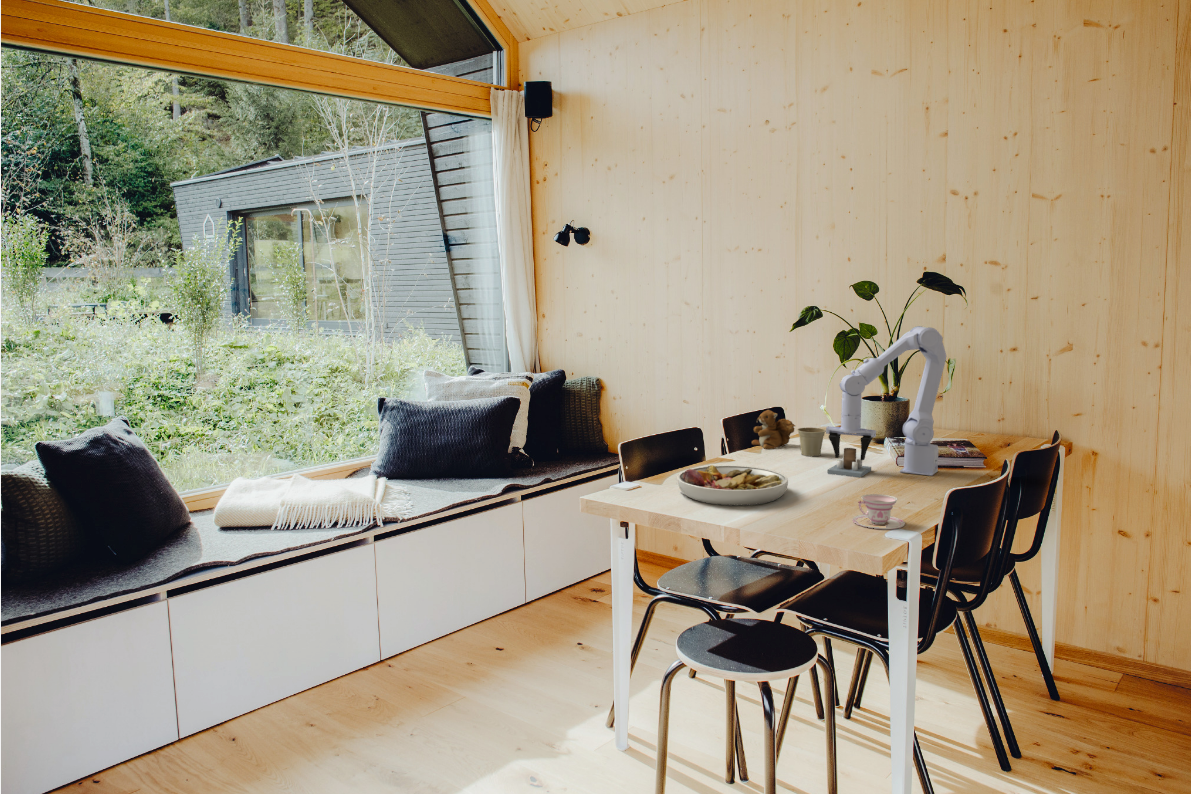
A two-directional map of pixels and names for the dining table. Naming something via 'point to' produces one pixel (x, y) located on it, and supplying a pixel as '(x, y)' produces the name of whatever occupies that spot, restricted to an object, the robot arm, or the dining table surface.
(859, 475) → the peg pad
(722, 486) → the bowl
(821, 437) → the flower pot
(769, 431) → the stuffed squirrel
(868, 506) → the teacup
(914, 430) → the robot arm
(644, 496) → the dining table surface
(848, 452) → the walnut pin
